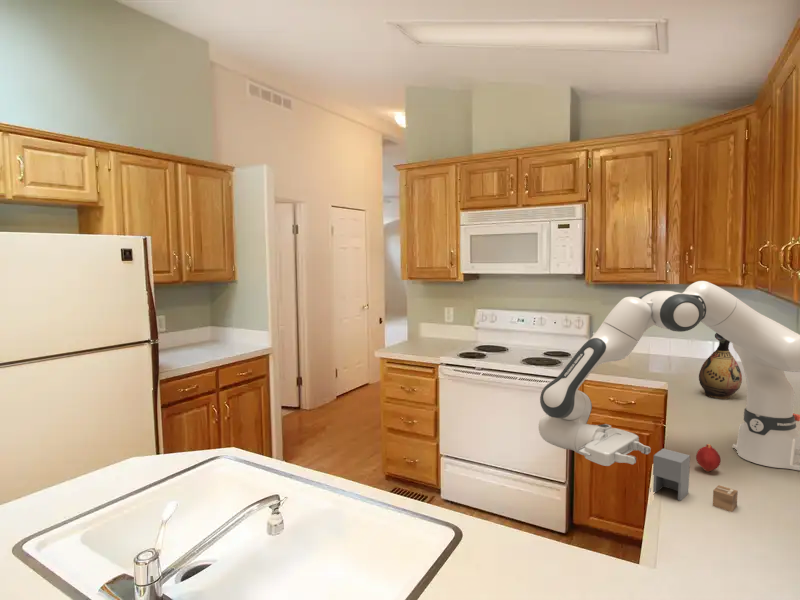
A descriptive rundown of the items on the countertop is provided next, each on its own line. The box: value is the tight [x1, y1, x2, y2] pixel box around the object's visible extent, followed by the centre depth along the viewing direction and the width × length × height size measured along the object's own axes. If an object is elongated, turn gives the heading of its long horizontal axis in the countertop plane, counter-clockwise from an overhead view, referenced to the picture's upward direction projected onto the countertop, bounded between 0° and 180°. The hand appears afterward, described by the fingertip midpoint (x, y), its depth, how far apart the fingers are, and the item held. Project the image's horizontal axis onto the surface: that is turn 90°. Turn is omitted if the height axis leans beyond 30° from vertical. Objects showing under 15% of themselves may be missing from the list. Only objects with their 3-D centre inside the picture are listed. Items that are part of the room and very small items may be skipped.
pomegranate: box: [695, 443, 721, 473], centre depth 137 cm, size 6×6×8 cm
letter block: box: [712, 484, 739, 513], centre depth 118 cm, size 4×4×4 cm
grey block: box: [652, 448, 691, 502], centre depth 124 cm, size 6×6×10 cm
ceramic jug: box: [698, 332, 743, 400], centre depth 208 cm, size 17×15×30 cm
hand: (642, 455), depth 129 cm, fingers open, 8 cm apart
